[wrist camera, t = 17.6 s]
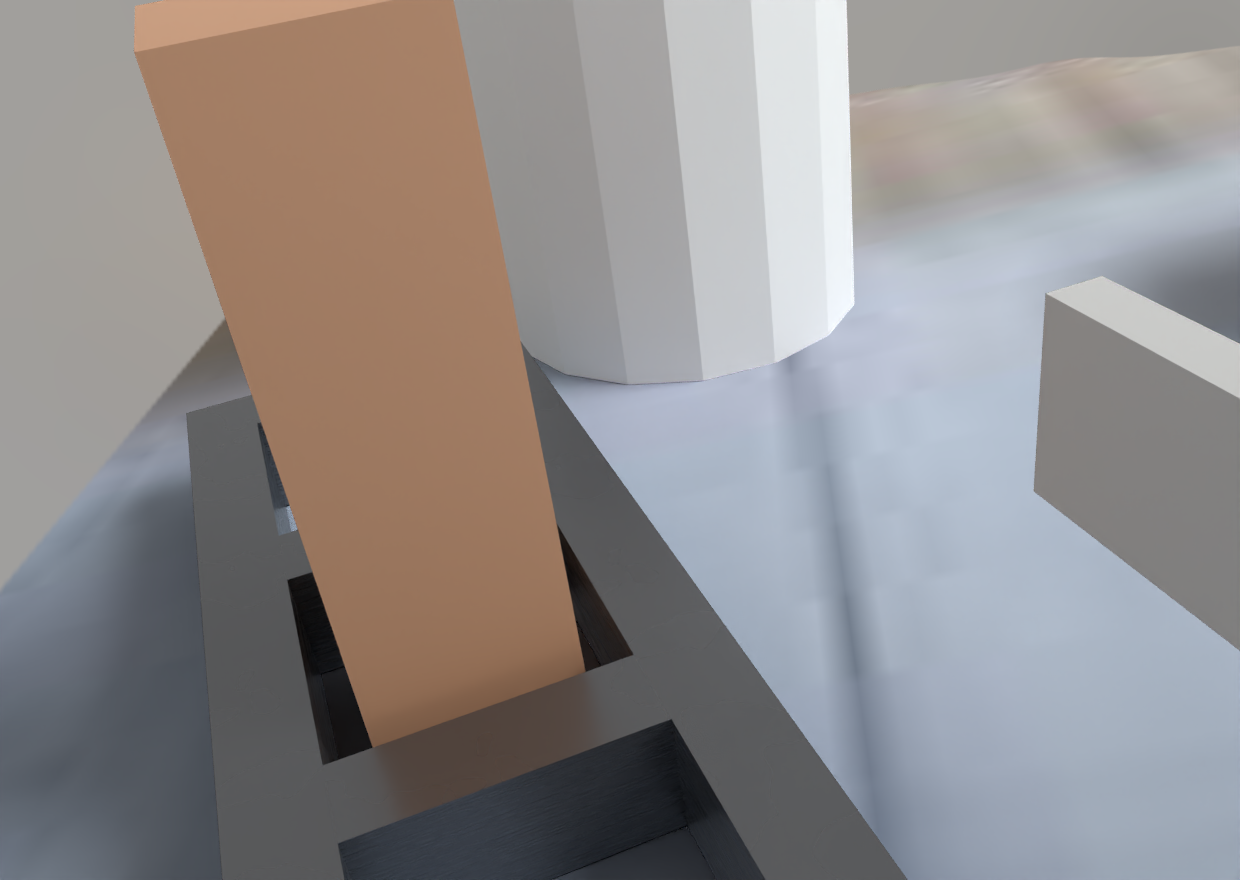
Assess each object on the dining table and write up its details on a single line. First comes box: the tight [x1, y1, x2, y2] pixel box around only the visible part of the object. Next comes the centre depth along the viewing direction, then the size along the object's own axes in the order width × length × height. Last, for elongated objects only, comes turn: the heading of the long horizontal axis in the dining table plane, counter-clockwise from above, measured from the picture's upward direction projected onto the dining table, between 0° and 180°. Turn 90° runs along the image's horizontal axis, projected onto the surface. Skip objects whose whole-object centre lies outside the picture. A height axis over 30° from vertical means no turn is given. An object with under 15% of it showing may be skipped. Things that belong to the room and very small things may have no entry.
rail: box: [186, 342, 907, 880], centre depth 26 cm, size 10×27×3 cm, turn 20°
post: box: [134, 0, 586, 747], centre depth 23 cm, size 5×5×16 cm
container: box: [454, 0, 854, 385], centre depth 39 cm, size 14×13×20 cm
